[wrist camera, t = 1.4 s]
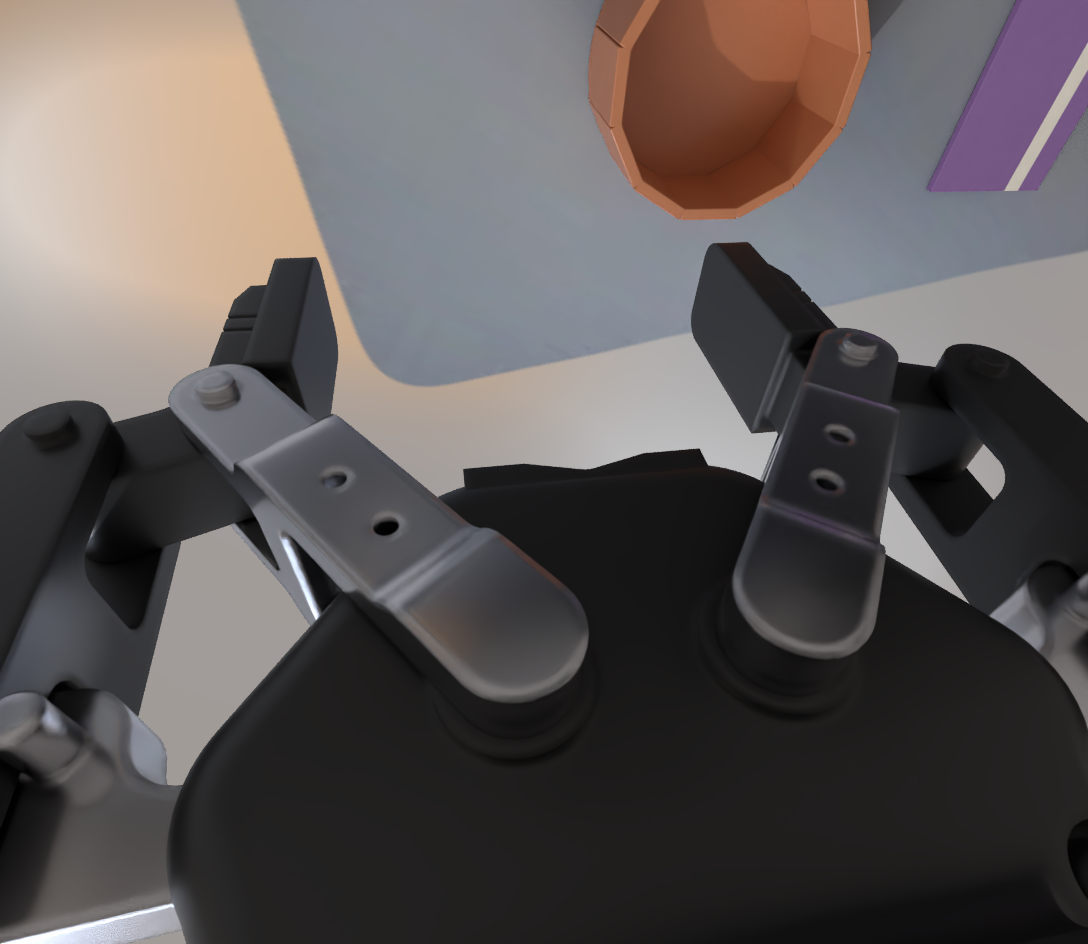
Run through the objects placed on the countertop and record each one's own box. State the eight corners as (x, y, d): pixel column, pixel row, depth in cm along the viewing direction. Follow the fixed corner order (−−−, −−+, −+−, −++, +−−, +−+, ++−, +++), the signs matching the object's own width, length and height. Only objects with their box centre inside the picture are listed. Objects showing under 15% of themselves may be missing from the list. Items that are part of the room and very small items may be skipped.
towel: (1059, -92, 25) (1067, -92, 24) (1193, -84, 26) (1202, -83, 25) (925, 189, 32) (930, 192, 32) (1031, 187, 33) (1037, 190, 33)
